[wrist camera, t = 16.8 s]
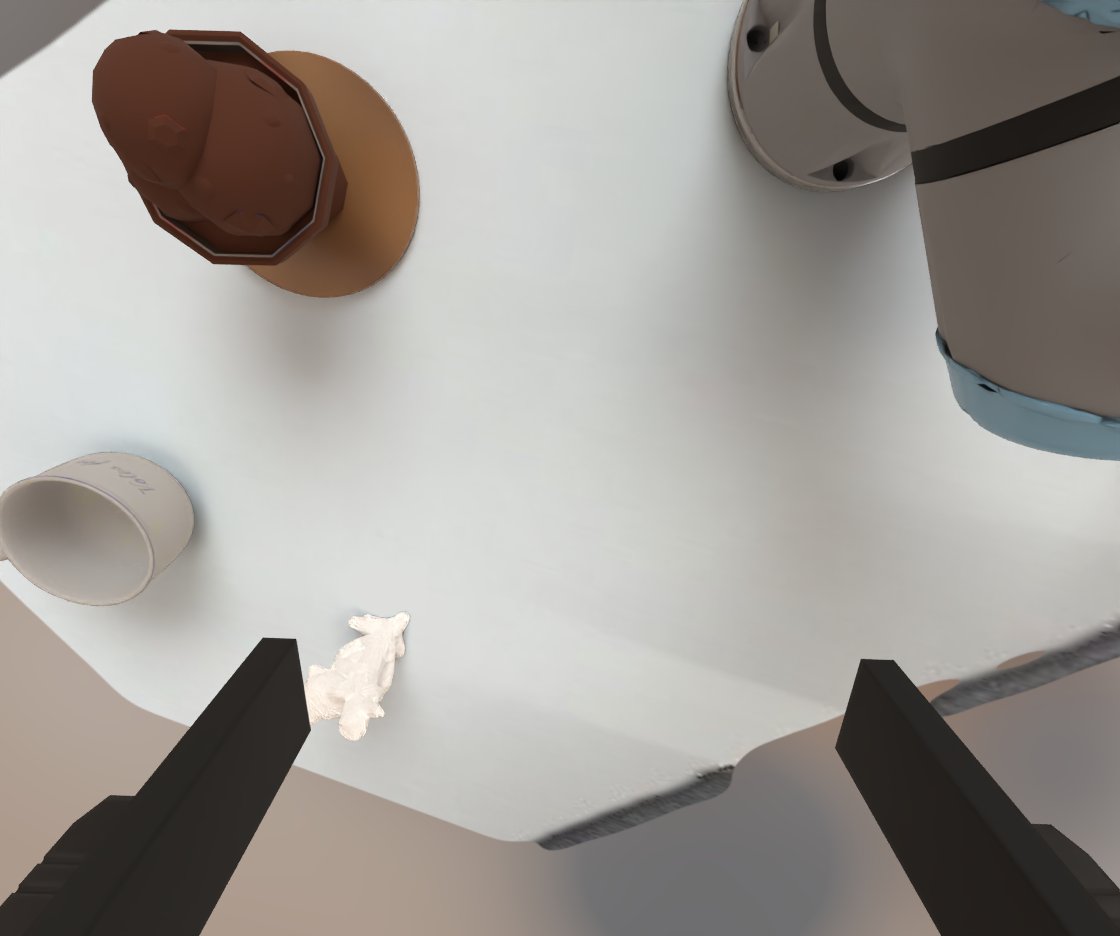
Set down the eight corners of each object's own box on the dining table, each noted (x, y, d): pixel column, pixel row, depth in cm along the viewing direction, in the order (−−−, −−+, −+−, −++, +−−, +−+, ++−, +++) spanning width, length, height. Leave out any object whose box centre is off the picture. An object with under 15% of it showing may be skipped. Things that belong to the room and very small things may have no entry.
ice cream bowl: (218, 237, 38) (16, 221, 24) (239, 58, 34) (14, -87, 20) (366, 290, 39) (255, 303, 25) (402, 122, 35) (296, 28, 21)
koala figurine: (409, 592, 49) (363, 689, 38) (437, 649, 51) (402, 757, 40) (325, 615, 50) (256, 717, 39) (356, 671, 52) (300, 782, 41)
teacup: (202, 444, 44) (128, 480, 37) (224, 560, 48) (161, 614, 40) (30, 435, 44) (-80, 470, 36) (66, 552, 48) (-27, 605, 40)
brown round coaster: (290, -7, 34) (285, -11, 33) (464, 190, 37) (462, 189, 37) (157, 177, 37) (151, 175, 37) (328, 339, 41) (325, 340, 40)
